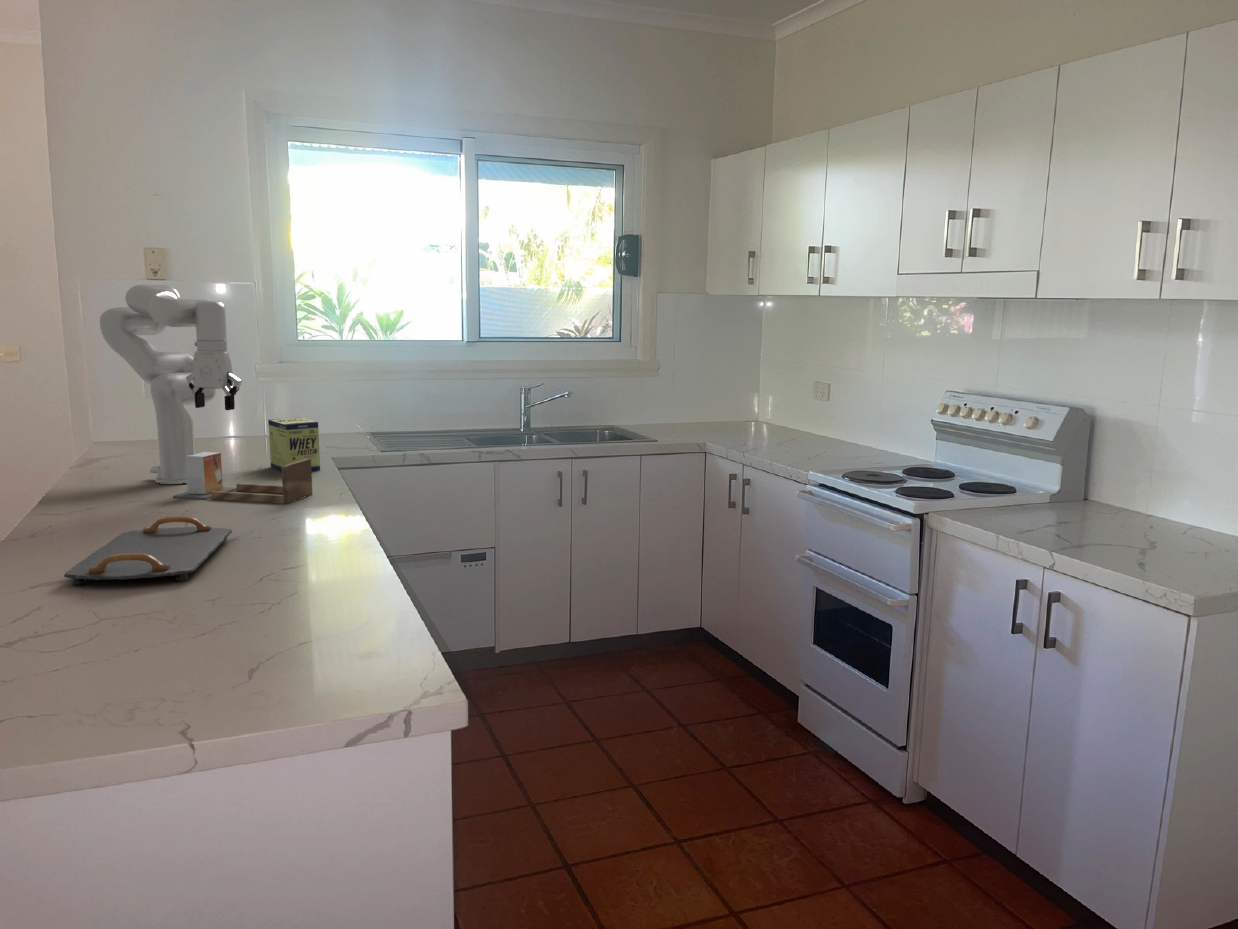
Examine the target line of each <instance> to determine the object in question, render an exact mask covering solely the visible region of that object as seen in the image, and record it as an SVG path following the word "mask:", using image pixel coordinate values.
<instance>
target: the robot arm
mask: <svg viewBox="0 0 1238 929" xmlns="http://www.w3.org/2000/svg"><path fill="white" fill-rule="evenodd" d="M124 299H125V303H126V304H127V306H118V307H111V308H108V309H106V310H105V311H103V312H102V313H101V315H100V317H99V327H100V331H101V335H102V337H103V338H104V340H105V342H106V343H107V345H108V347H110V348H111V349H112V351H114V352H115V353H117V355H118V356H119V357H121V358H123V359H124V360H125V362H126V363H127V364H128V365H129V366H130V367H131V368H132V369H133V370H134V372H136V374H137V375H138V376H139V377H140V378H141V379H142V381H144V382H145V383H147V384H150V386H149V387H150V388H149V389H150V395H151V399H152V402H153V406H154V411H155V417H156V418H155V419H156V428H157V429H156V430H157V443H158V454H159V456H158V457H159V465H153V466H152V467H151V468H150V471H149V472H150V473H151V474H157V477H155V480H154V481H155V483H157V484H159V483H160V485H181V484H183V483H185V484H187V473H186V458H185V456H190V455H194V454H196V447H195V432H194V431H195V430H194V420H193V418H192V416H191V414H190V413H189V411H188V410H186V408H185V406H191V405H194V406H195V409H199V408H204V407H206V404H207V403H210V402H211V401H212V400H214V398H215V396H216V392H217V391H216V389H217V390H220V389H222V391H223V392H224V393H225V395H224V410H225V411H231V410H232V411H233V410H235V408H236V407H235V406H236V405H235V403H236V402H235V396H236V395H237V392H239V391H240V387H241V385H242V383H243V382H242V380H241V379H240V378H239V377H237V376H236V375H235V374H233V366H232V361H231V357H230V356H231V355H230V352H229V351H228V345H227V344H228V341H227V318H226V315H227V314H226V306H225V304H224V303H223V302H220V301H212V300H211V301H210V300H205V299H190V298H189V299H187V298H185V299H183V298H182V299H181V296H180V293H179V292H178V290H177V289H176V288H175V287H173V286H171V285H165V284H162V285H161V284H137V285H133V286H132V287H130V288H129V289H128V290H127V291H126V293H125V297H124ZM167 327H170V328H191V327H192V328H195V329H196V330H195V332H196V334H195V335H196V341H195V342H194V346H195V347H196V351H194V353H193V356H192V355H190V354H188V353H186V352H182V351H168V352H167V351H159V350H157V348H156V347H154V345H152V344H151V343H150V341H148V340H146V339H145V338H143V337H140V336H155V335H159V334H161V333H162V332H164V331H165V330H166V328H167ZM183 485H184V484H183Z"/></svg>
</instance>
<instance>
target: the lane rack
mask: <svg viewBox="0 0 1238 929" xmlns="http://www.w3.org/2000/svg"><path fill="white" fill-rule="evenodd" d="M312 472H313V471H311V459H304V460H301V461H297V462H294V463H291V464H287V465H284V466H282V471H281V478H282V479H281V480H282V482H281V483H282V485H275V484H259V483H258V484H257V483H242V482H241V483H236V484H235V485H236V487H235V488H237V490H236V491H232V492H222V491H212V492H211V498H210V499H211V500H221V501H222V500H223V501H233V500H242V501H241V502H250V501H257V502H256V503H267V502H270V503H272V504H284V503H288V504H291V503H293V502H292V501H294V500H296V501H298V499H299V500H301V499H300V498H302V497H304V496H307V497H309V495H310V496H312V495H311V494H313V477H312V476H313V474H312ZM243 491H246V492H243ZM261 492H262V493H261ZM278 493H283V494H278ZM302 499H303V498H302ZM290 502H291V503H290ZM294 502H295V501H294ZM270 503H269V504H270Z"/></svg>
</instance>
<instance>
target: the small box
mask: <svg viewBox="0 0 1238 929" xmlns="http://www.w3.org/2000/svg"><path fill="white" fill-rule="evenodd" d="M185 458H186V473H187V483H186V486H187V492H188V494H207V493H211V492H212V491H219V490H222V489H223V487H224V485H223V469H222V468H223V467H222V453H221V452H215V451H214V452H213V451H212V452H211V451H202V452H199V453H195V454H194V455H190V456H185Z"/></svg>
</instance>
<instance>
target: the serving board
mask: <svg viewBox="0 0 1238 929" xmlns="http://www.w3.org/2000/svg"><path fill="white" fill-rule="evenodd" d="M168 523H189V524H193V525H195V526H191V527H190V526H185V527H184V526H183V527H178V526H177V527H166V528H165V527H163V528H162V527H161V528H159V526H160V525H163V524H168ZM232 533H233V530H232V529H230V528H225V527H220V528H219V527H212V525H206V524H205V523H203V522H202V521H201V520H199V519H198V518H196V517H194V516H185V515H176V516H175V515H174V516H173V515H172V516H167V517H161V518H159V519H157V520H156V521H155V522H153V523H152V524H151V526H149V527H146V526H145V527H143V529H142V530H131V531H125V532H122V533H120V534H119V535H117V536H116V537H115V538H113V539H112V540H110V541H109V542H107V543H105V545H103V546H102V547H100V548H99V549H97V550H96V551H95V552H92V553H91V554H90V555H89V556H87V557H86V558H84V559H83V560H81V561H80V562H78V563H77V564H75V566H73V567H71V568H70V569H69V570H67V571H66V572H65V573H64V575H63V576H64V578H67V579H68V578H69V579H72V580H71V586H72V587H74V586H78V587H82V586H85V584H86V580H94V581H95V580H96V581H100V580H101V581H103V580H114V581H117V580H119V581H120V580H133V579H137V580H138V579H152V578H159V577H173V576H175V581H176V583H180V584H181V583H186V582H188V580H189V576H188V574H191V573H193V572H195V571H196V570H197V569H198V568H200V566H201V565H202V564H203V563H204V562H205V561H207V560H208V558H209V556H210V555H211V554H213V553H214V552H215V551H216V550H217V548H219V547H220V546H221V545H222V544H223V543H225V541H224V540H226V539H228V537H229V536H230V535H231V534H232ZM226 541H227V540H226Z"/></svg>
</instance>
